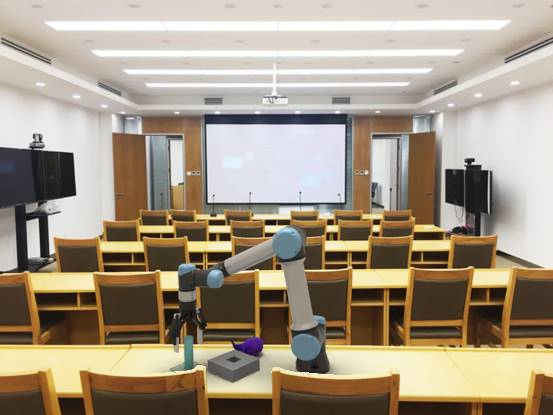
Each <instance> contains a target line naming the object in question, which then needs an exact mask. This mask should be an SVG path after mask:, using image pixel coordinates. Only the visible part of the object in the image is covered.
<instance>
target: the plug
mask: <svg viewBox="0 0 553 415" xmlns="http://www.w3.org/2000/svg"><path fill="white" fill-rule="evenodd" d="M183 357H184V358H183V360H184V361H183V363H184V368H185V369H186V370H190V369H193V368H194V361H195V360H194V336H193V335H185V336H184V337H183Z"/></svg>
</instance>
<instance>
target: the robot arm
mask: <svg viewBox="0 0 553 415" xmlns="http://www.w3.org/2000/svg"><path fill="white" fill-rule="evenodd" d="M305 231H306V230H304V229H303V228H302V227H301V226H300V225H297V224H289V225H286V226H285V227H283V228H280V229H279V230H278V231H277V232H276V233H275V234H273V236H272V237H271V238H269V239H267V240H265V241H263V242H260V243H258V244H256V245H254V246H252V247H250V248H248V249H245V250H244V251H241V252H240V253H238V254H235V255H234V256H233V255H232V256H231V257H229V258H226V259H225V260H223V261H221V262H217V263H216V264H214V265H212V266H211V267H209V268H208V269H198V268H197V267H196V265H195V264H194V263H188V262H187V263H181V264H180V265H179V266H178V268H177V281H178V282H177V283H178V284H177V285H178V309H179V312H178V313H173V314H172V321H171V323H170V327H169V330H168V333H167V337H168V338H171V344H172V346H173V352H174V353H177V354H178V353H180V339H179V338H180V337H179V334H180V332H181V330H182V328H183V326H184V325H185V324H186V323H187V322H189V321H193V322H194V324H195V325H196V326H197V327H198V328H197V330H196V332H197V333H196V334H197V336H196V337H197V341H196V342H197V344H199V345H203V344H204V343H203V340H204V339H203V338H204V337H203V336H204V334H205V333H204V330H206V328H207V327H208V323H207V321H206V318H205V316H204V314H203V309H202V308H201V307H199V306H197V288H207V289H208V288H209V289H220V288H221V287H222V286H223V284H224V280H225V279H227V278H229V277H231V276H234V275H236V274H237V273H238V274H239V273H241V272H242V271H245V270H246V269H250V267H251V268H252V267H254V266H255V265H257V264H260V263H262V262H264V261H266V260H268V259H271V258H273V257H277V258H276V259H277V263H278V264H279V265H281V267H282V272H283V274H284V280H285V287H286V292H287V297H288V302H289V307H290V308H289V309H290V312H291V313H290V314H291V317H292V318H291V319H292V324H291V325H290V328H289V329H290V334H291V342H290V351H291V352H292V354H293V355H294V357H295V358H296V359H295V362H294V363H295V370H296V371H297V372H299V371H300V372H299V373H301V372H309V373H323V374H325V373H327V372H329V371H330V368H331V367H330V361H329V358H328V353H327V350H326V349H327V348H326V346H327V342H326V341H327V336H326V335H327V334H326V333H327V332H326V330H327V322H326V318H325V317H324V316H322V315H321V316H320V315H314V314H313V309H312V303H311V296H310V294H309V293H310V292H309V288H308V281H307V275H306V271H305V265H304V262H305V260H306V259H307V255H306V250H305V245H306V243H307V234H306V232H305Z"/></svg>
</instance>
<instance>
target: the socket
mask: <svg viewBox="0 0 553 415" xmlns="http://www.w3.org/2000/svg"><path fill="white" fill-rule="evenodd" d="M260 363H261V359H260V358H259V357H256V356H255V355H254V356H251V355H248V354H245V353H243V352H240V351H237V350H235V349H232V350H230V351H228V352H225V353H222V354H220V355H217V356H215V357H212V358H210V359H207V367H208V369H207V372H208V373H211V374H213V375H214V376H218V377H219V378H221V379H224V380H227V381H229V382H231V383H234V382H237V381H238V380H241V379H243V378H246V377H247V375H248V376H250V375H252V374H254V373H256V372H258V371H260V368H261V367H260V366H261V364H260Z"/></svg>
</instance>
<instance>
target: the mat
mask: <svg viewBox="0 0 553 415" xmlns="http://www.w3.org/2000/svg"><path fill="white" fill-rule="evenodd" d="M197 365H203V364H202V363H199V362H197V361H196V360H194V368H195V367H196V366H197ZM205 366H206V365H205ZM194 368H193V369H194ZM169 370H170V371H171V372H173V371H187V370H186V369H185V368H184V362H183V363H180V364H177V365H174V366H172V367H169ZM190 370H192V369H190ZM206 370H208V365H207V366H206Z"/></svg>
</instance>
